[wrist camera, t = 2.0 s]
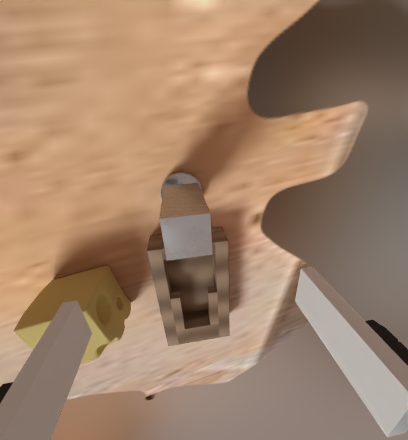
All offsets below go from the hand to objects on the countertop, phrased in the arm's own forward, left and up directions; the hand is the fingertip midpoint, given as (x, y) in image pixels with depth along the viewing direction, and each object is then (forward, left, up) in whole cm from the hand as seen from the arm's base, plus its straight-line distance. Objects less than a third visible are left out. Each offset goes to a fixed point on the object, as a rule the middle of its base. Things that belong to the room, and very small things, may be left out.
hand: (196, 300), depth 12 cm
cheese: (+17, -18, -21) cm, 33 cm away
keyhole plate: (+18, 0, -21) cm, 28 cm away
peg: (0, 0, -21) cm, 21 cm away
